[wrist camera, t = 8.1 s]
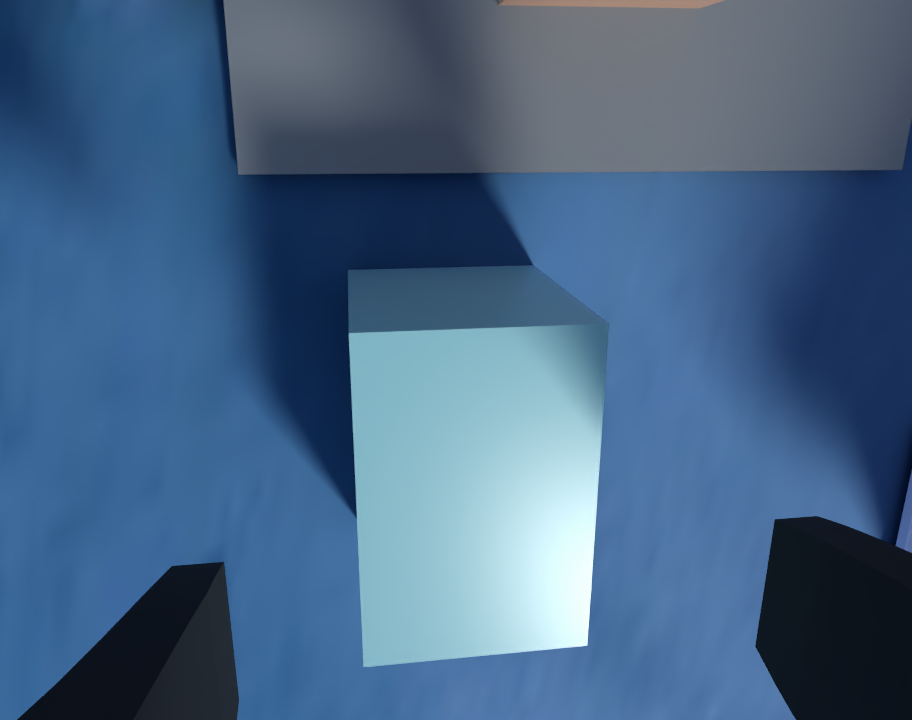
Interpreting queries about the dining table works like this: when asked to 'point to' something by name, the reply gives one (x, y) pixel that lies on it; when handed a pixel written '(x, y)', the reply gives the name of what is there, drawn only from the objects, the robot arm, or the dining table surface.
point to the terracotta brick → (614, 3)
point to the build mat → (568, 86)
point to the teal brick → (473, 460)
